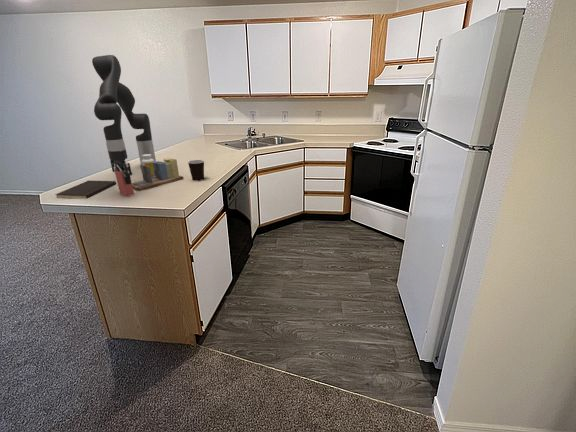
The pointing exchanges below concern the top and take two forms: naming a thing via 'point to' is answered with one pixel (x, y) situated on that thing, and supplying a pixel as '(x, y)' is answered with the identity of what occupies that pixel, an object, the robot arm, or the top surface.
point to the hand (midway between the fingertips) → (124, 182)
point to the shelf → (158, 174)
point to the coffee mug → (197, 169)
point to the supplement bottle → (148, 163)
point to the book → (123, 184)
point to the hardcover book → (86, 189)
